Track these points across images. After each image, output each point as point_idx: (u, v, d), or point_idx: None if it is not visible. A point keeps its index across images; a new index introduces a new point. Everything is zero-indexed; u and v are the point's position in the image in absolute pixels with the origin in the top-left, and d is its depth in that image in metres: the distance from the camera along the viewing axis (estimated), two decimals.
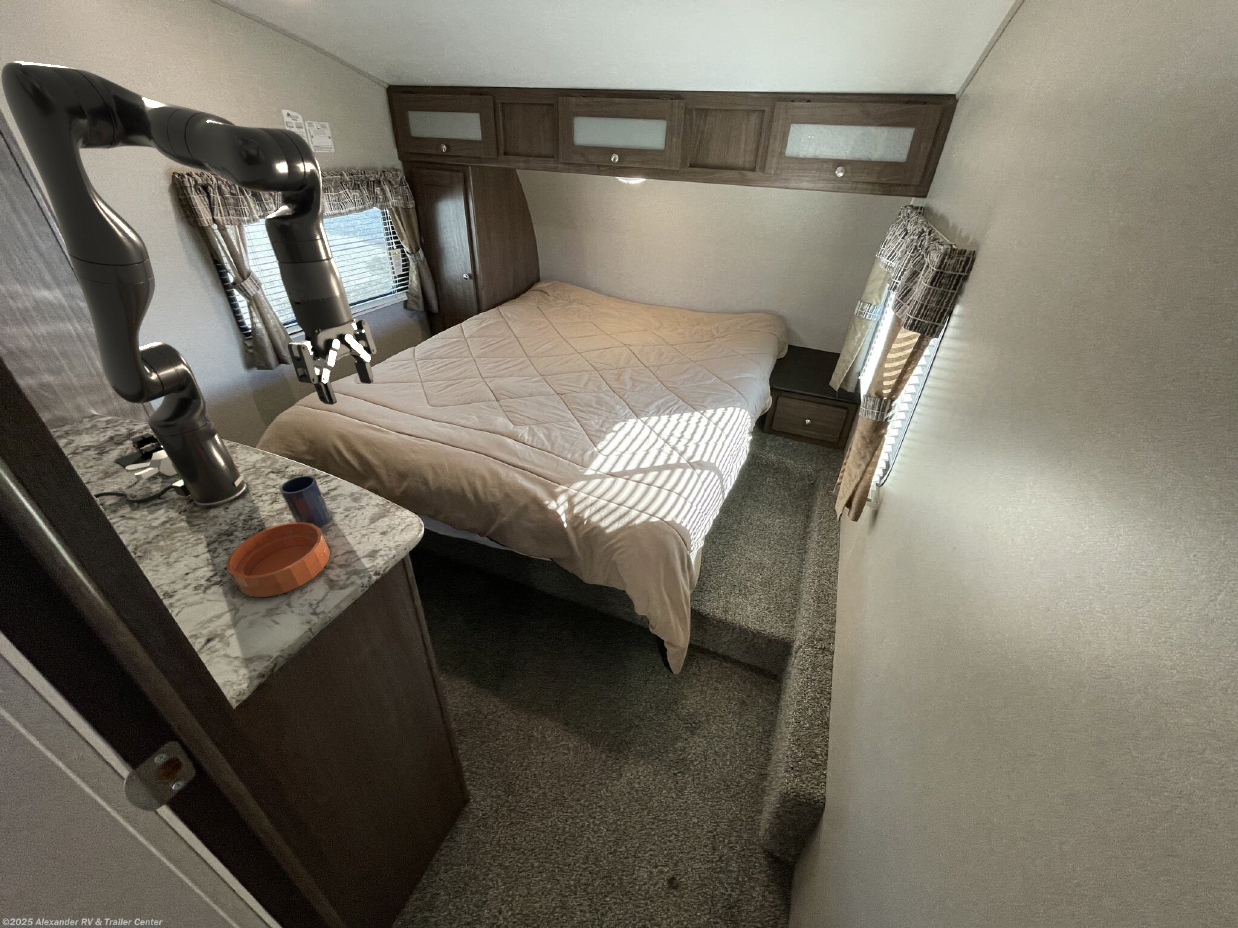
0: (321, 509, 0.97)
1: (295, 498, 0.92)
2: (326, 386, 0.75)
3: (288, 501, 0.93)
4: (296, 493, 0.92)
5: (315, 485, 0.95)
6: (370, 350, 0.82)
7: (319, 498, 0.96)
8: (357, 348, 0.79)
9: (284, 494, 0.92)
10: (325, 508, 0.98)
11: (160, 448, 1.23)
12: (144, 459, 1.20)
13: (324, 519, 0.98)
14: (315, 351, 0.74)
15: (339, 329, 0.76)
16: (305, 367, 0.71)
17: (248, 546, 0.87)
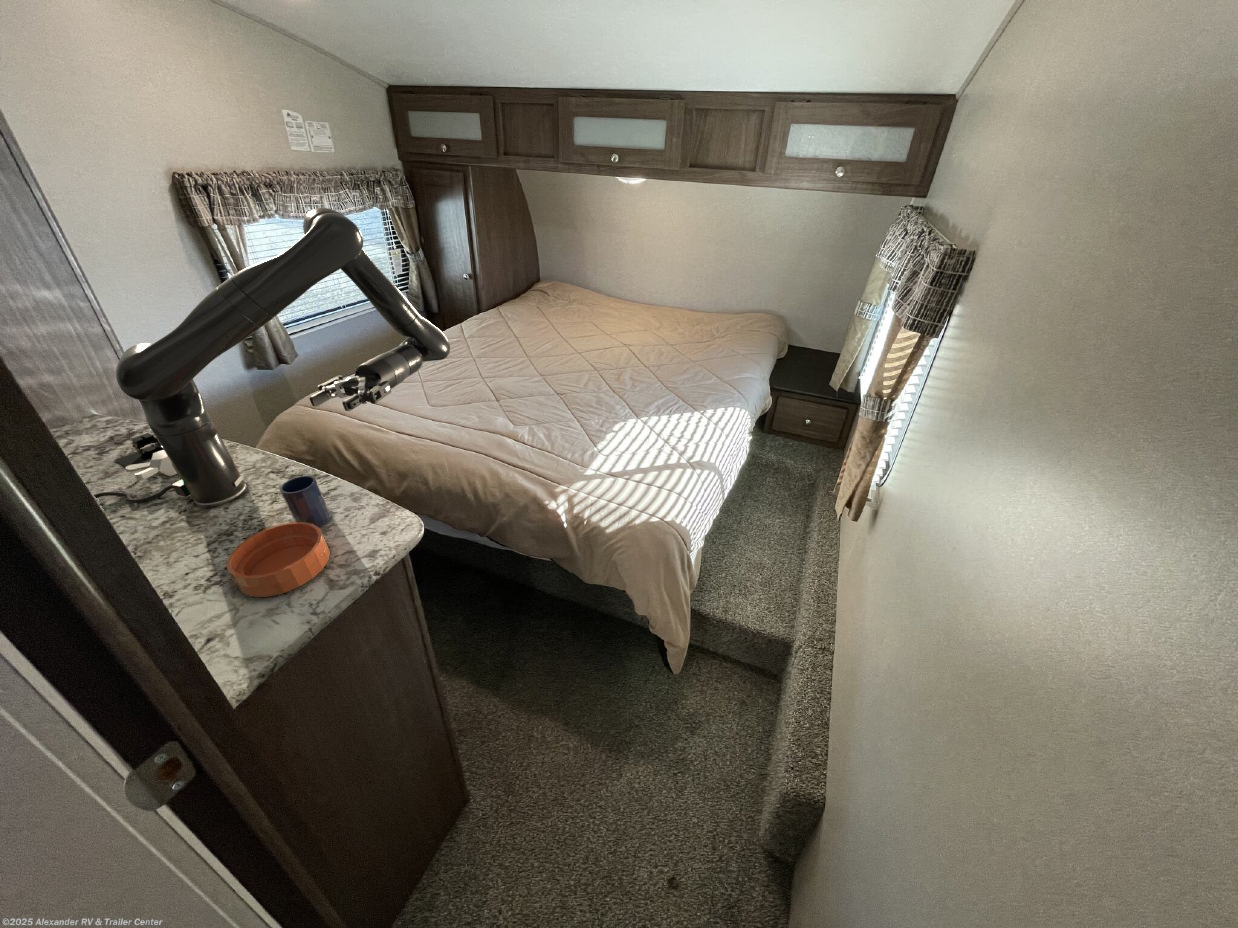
0: (321, 509, 0.97)
1: (295, 498, 0.92)
2: None
3: (288, 501, 0.93)
4: (296, 493, 0.92)
5: (315, 485, 0.95)
6: None
7: (319, 498, 0.96)
8: None
9: (284, 494, 0.92)
10: (325, 508, 0.98)
11: (160, 448, 1.23)
12: (144, 459, 1.20)
13: (324, 519, 0.98)
14: (369, 387, 1.03)
15: None
16: (382, 397, 1.02)
17: (248, 546, 0.87)
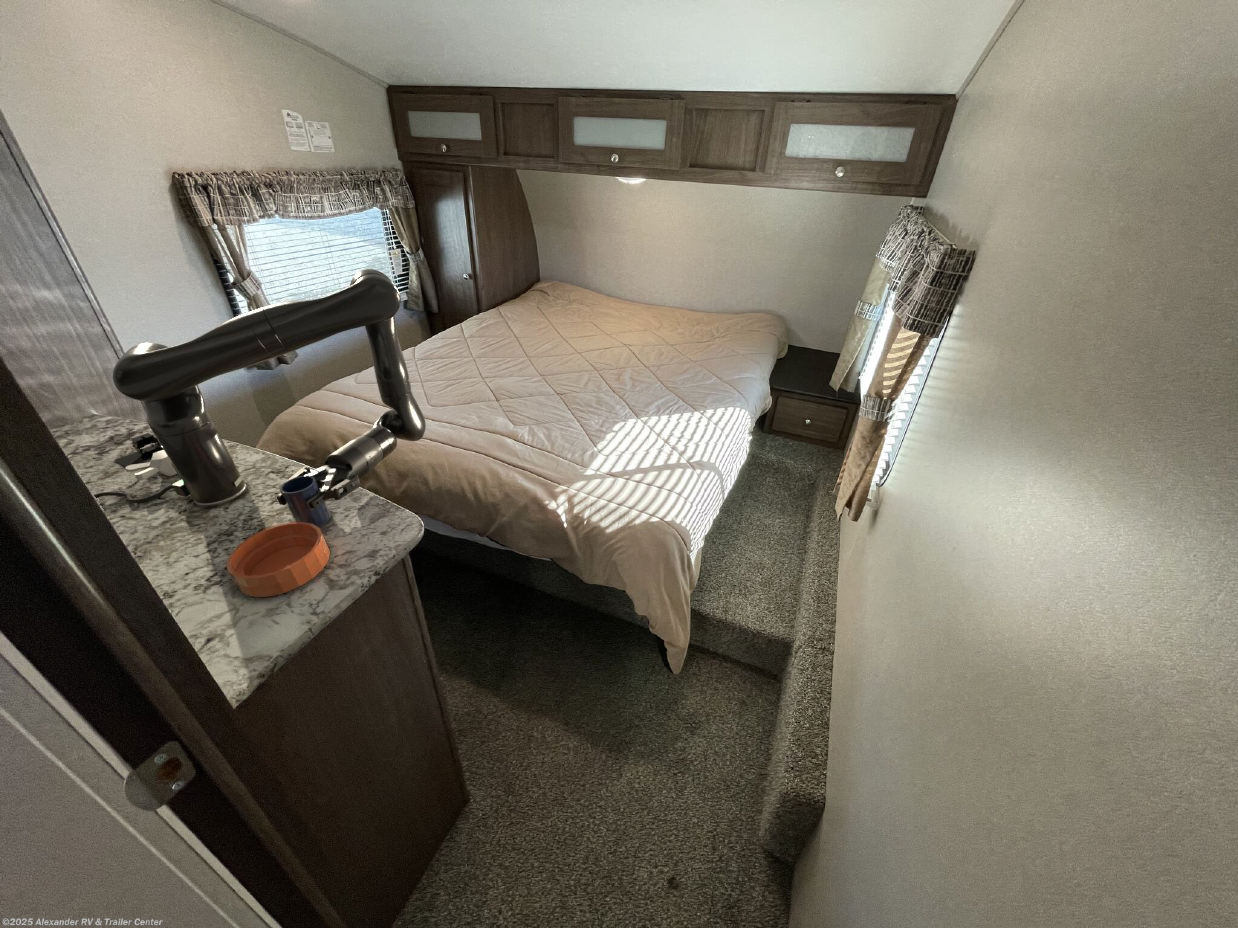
0: (321, 509, 0.97)
1: (295, 498, 0.92)
2: None
3: (288, 501, 0.93)
4: (296, 493, 0.92)
5: (315, 485, 0.95)
6: None
7: None
8: None
9: (284, 494, 0.92)
10: (325, 508, 0.98)
11: (160, 448, 1.23)
12: (144, 459, 1.20)
13: (324, 519, 0.98)
14: None
15: None
16: (348, 492, 0.98)
17: (248, 546, 0.87)
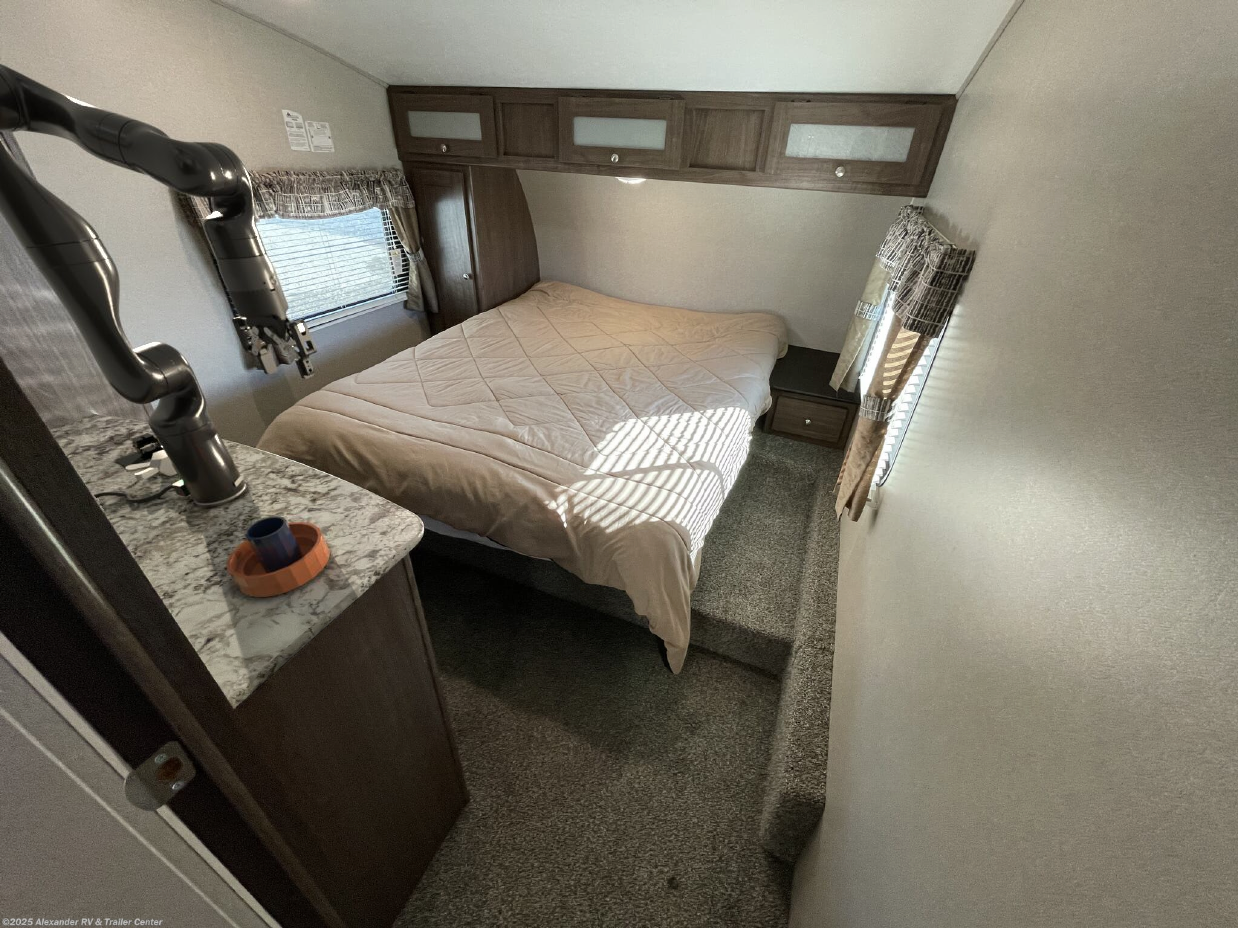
0: (293, 554, 0.85)
1: (262, 544, 0.80)
2: None
3: (254, 547, 0.81)
4: (263, 539, 0.80)
5: (286, 528, 0.83)
6: None
7: (291, 542, 0.84)
8: None
9: (249, 540, 0.80)
10: (298, 553, 0.86)
11: (160, 448, 1.23)
12: (144, 459, 1.20)
13: None
14: (284, 334, 0.85)
15: None
16: (310, 338, 0.86)
17: (248, 546, 0.87)
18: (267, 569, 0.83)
